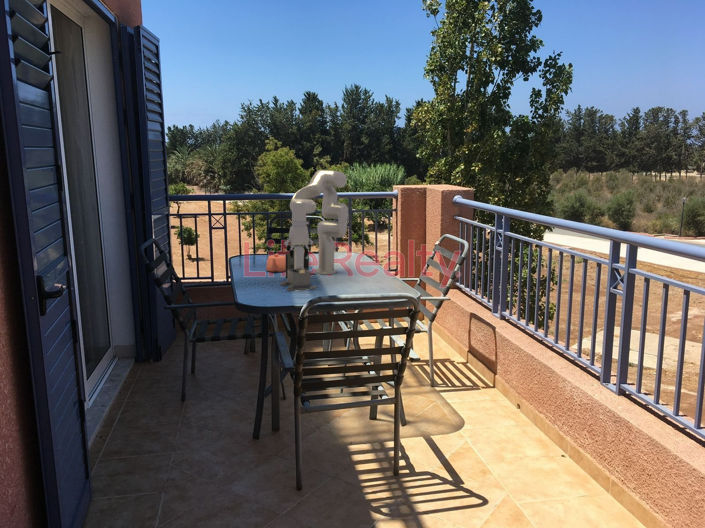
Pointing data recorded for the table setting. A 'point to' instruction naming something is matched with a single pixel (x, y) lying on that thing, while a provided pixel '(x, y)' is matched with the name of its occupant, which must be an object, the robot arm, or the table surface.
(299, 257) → the column
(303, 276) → the stand base
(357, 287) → the table surface
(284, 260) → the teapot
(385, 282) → the table surface
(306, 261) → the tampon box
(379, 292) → the table surface
